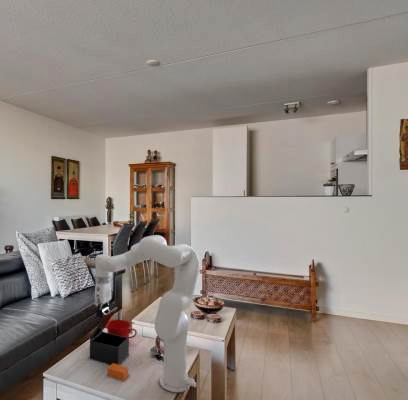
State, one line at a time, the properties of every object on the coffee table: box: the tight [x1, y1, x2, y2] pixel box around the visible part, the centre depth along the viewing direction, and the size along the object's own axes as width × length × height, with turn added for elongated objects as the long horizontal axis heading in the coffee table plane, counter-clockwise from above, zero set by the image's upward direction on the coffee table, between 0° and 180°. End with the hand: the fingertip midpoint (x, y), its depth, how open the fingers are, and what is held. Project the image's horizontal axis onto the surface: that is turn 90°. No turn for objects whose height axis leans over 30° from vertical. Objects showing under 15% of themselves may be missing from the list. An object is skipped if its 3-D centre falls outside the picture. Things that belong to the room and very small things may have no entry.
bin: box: [89, 331, 130, 366], centre depth 155 cm, size 16×13×9 cm
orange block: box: [107, 363, 129, 382], centre depth 139 cm, size 8×5×4 cm, turn 63°
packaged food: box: [149, 345, 164, 359], centre depth 158 cm, size 9×12×5 cm
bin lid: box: [89, 306, 118, 341], centre depth 158 cm, size 16×13×5 cm
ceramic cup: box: [106, 319, 138, 339], centre depth 171 cm, size 13×17×10 cm
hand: (102, 314), depth 157 cm, fingers closed on bin lid, 6 cm apart
